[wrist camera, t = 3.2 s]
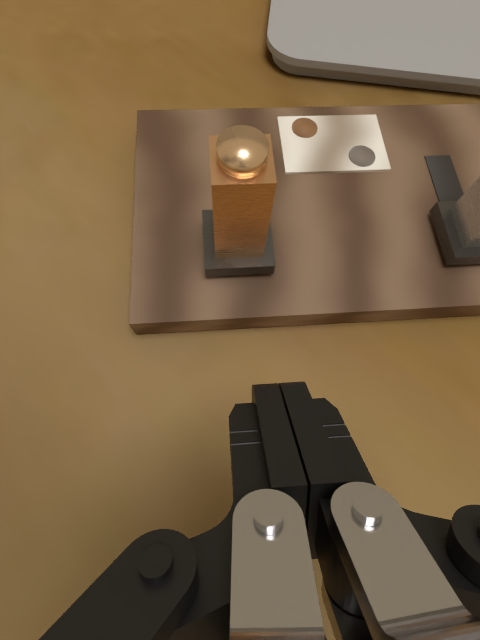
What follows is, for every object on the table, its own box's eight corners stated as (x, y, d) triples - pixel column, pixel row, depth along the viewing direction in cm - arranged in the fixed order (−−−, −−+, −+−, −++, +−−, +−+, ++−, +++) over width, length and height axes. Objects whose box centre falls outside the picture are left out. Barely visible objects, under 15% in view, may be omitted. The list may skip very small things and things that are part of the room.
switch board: (136, 334, 24) (127, 322, 22) (142, 131, 30) (136, 107, 28) (561, 310, 26) (592, 297, 24) (483, 123, 32) (502, 100, 30)
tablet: (539, 111, 34) (560, 87, 32) (261, 80, 34) (264, 55, 32) (511, 3, 39) (527, -23, 37) (274, -23, 40) (277, -50, 37)
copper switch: (205, 276, 23) (194, 185, 15) (202, 219, 25) (192, 110, 17) (273, 273, 23) (297, 182, 16) (266, 216, 25) (285, 108, 17)
